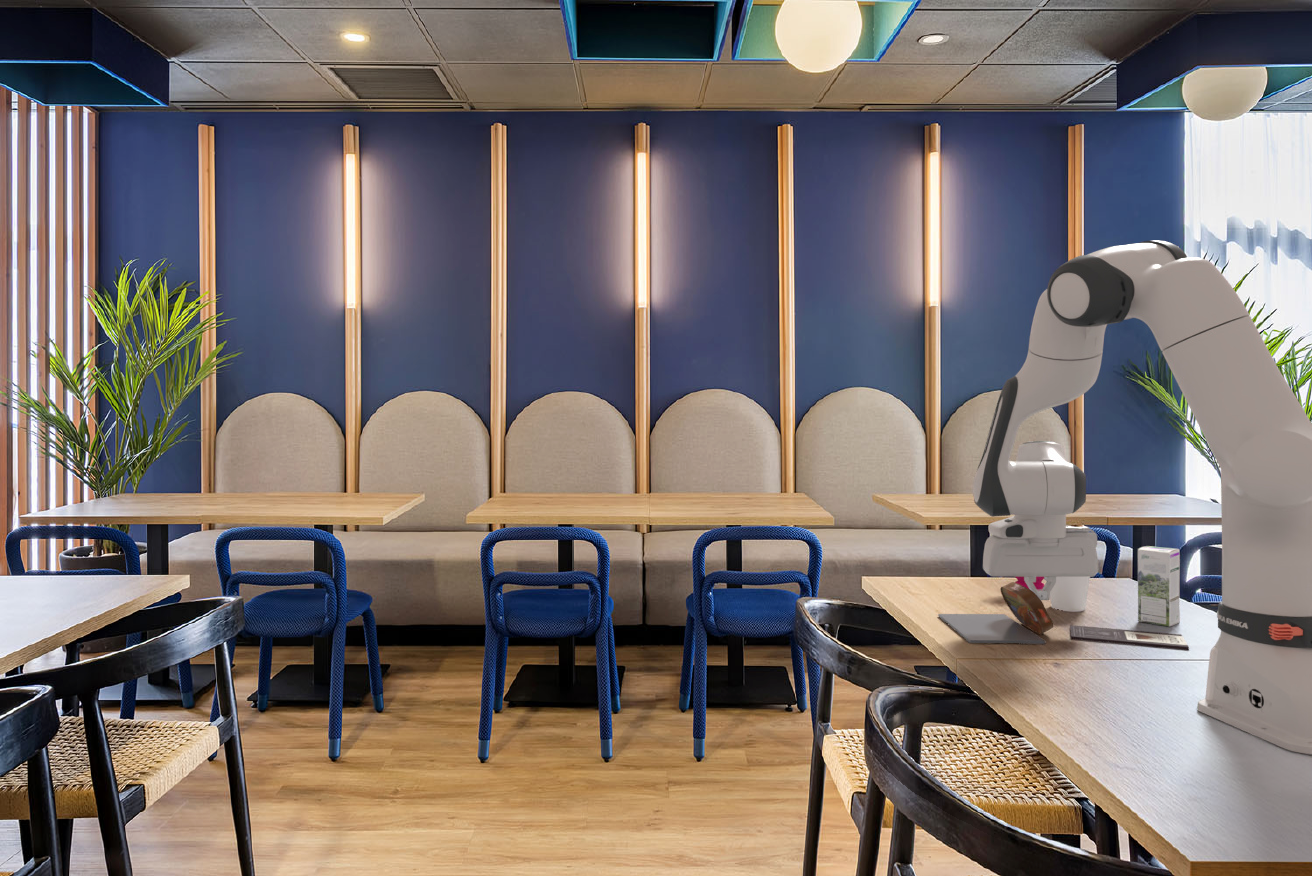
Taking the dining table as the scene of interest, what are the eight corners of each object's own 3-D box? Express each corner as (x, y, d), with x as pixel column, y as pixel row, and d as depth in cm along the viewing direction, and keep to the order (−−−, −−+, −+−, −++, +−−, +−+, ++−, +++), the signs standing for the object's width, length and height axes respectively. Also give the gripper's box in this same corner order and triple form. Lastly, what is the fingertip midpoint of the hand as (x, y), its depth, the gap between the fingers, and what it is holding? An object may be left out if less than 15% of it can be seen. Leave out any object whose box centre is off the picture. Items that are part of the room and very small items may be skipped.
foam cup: (1098, 614, 167) (1098, 550, 166) (1048, 612, 169) (1048, 549, 169) (1086, 604, 176) (1086, 543, 175) (1039, 602, 178) (1039, 542, 178)
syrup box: (1180, 622, 159) (1180, 548, 159) (1169, 627, 156) (1169, 551, 155) (1148, 617, 164) (1148, 544, 163) (1136, 622, 160) (1136, 548, 160)
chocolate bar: (1070, 625, 156) (1181, 634, 149) (1070, 630, 156) (1181, 639, 149) (1071, 636, 148) (1188, 647, 141) (1071, 641, 148) (1188, 652, 141)
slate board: (1045, 644, 145) (1045, 640, 145) (970, 643, 146) (970, 640, 146) (1004, 617, 165) (1004, 614, 165) (938, 616, 166) (938, 614, 166)
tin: (1015, 620, 163) (992, 584, 163) (1028, 611, 163) (1005, 575, 163) (1048, 640, 148) (1023, 601, 148) (1063, 631, 148) (1038, 591, 148)
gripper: (1089, 524, 157) (1089, 596, 158) (980, 524, 159) (980, 596, 159) (1104, 528, 151) (1104, 603, 151) (991, 529, 152) (991, 603, 153)
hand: (1040, 599), depth 155 cm, fingers closed
